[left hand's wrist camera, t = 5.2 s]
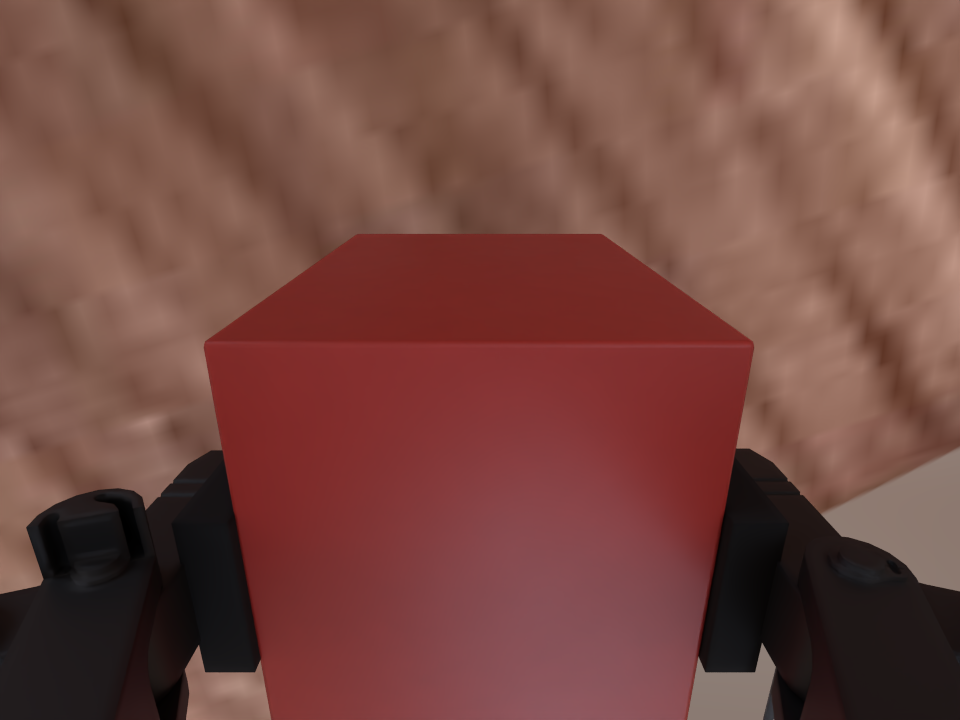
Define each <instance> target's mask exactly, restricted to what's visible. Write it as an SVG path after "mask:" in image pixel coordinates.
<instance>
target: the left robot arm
mask: <svg viewBox="0 0 960 720" xmlns="http://www.w3.org/2000/svg"><path fill="white" fill-rule="evenodd" d="M26 528H27V531H28V534H29V537H30V540H31V543H32V546H33V549H34V552H35V555H36V558H37V561H38V564H39V567H40V570H41V573H42V576H43V579H44V580H43V582H42V584H41V585H40V586H37V587H32V588H28V589H23V590H18V591H13V592H8V593H4V594H0V720H186V714H187V707H188V699H189V688H188V681H187V677H186V673H185V668H186V666H187V664H188V663H189V661H190V659H191V657H192V656H193V654H194V652H195V650H196V648H197V647H198V645H199V647H200V651H201V655H202V660H203V664H204V668H205V672H255V671H256V669H257V666H258V664H259V662H260V659H261V658H260V652H259V647H258V641H257V636H256V630H255V625H254V619H253V614H252V608H251V603H250V597H249V592H248V586H247V581H246V575H245V570H244V564H243V558H242V553H241V547H240V542H239V536H238V531H237V525H236V520H235V514H234V511H233V505H232V500H231V494H230V489H229V483H228V478H227V472H226V467H225V461H224V456H223V450H211V451H210V452H208V453H206V454H205V455H203V456H201V457H200V458H198V459H196V460H195V461H193V462H191V463H190V464H188V465H187V466H186V467H185V468H184V469H183V470H182V472H181V473H180V474H179V475H178V476H177V477H176V478H175V479H174V480H173V484H170V485H169V486H168V487H167V488H166V489H165V490H164V491H163V492H162V493H161V497H158V498H157V499H156V500H155V501H154V502H153V503H152V504H151V505H150V506H149V507H148V509H147V510H146V511H145V507H144V503H143V498H142V497H141V496H140V495H139V494H137V493H136V492H134V491H131V490H125V489H119V488H117V489H105V490H97V491H93V492H89V493H85V494H81V495H77V496H74V497H72V498H69V499H67V500H65V501H62V502H60V503H57V504H55V505H53V506H52V507H50V508H49V509H47V510H45V511H44V512H42V513H41V514H39V515H38V516H37V517H36V518H35V519H34V520H33V521H32V522H31V523H30V524H29V525H28V526H27V527H26ZM762 643H763V645H764V647H765V648H766V650H767V652H768V654H769V655H770V657H771V659H772V661H773V662H774V664H775V666H776V669H775V673H774V677H773V681H772V685H771V689H770V693H769V697H768V701H767V705H766V710H765V714H764V718H763V720H773V719H774V720H960V591H955V590H950V589H945V588H940V587H935V586H931V585H926V584H922V583H919V582H918V580H917V578H916V577H915V576H914V575H913V573H912V572H911V571H910V570H909V568H908V567H907V566H906V565H905V564H904V563H902V562H901V561H899V560H898V559H897V558H895V557H894V556H893V555H891V554H890V553H888V552H886V551H884V550H882V549H880V548H878V547H876V546H873V545H871V544H869V543H866V542H863V541H859V540H855V539H852V538H849V537H841V536H840V535H839V533H838V532H837V531H836V530H835V529H834V528H833V527H832V526H831V525H830V524H829V523H828V522H827V521H826V519H825V518H824V517H823V516H822V515H821V514H820V513H819V512H818V511H817V510H816V509H815V508H814V507H813V505H812V504H811V503H810V502H809V501H808V500H807V499H806V498H805V497H804V496H803V495H800V491H799V490H798V489H797V488H796V487H795V486H794V485H793V484H792V483H791V482H788V480H787V477H786V476H785V475H784V474H783V473H782V472H781V471H780V470H779V469H778V468H777V467H776V466H775V464H774V463H773V462H771V461H769V460H768V459H766V458H764V457H763V456H761V455H759V454H758V453H756V452H754V451H752V450H751V449H736V450H735V456H734V462H733V467H732V473H731V478H730V484H729V489H728V495H727V500H726V506H725V512H724V517H723V523H722V528H721V534H720V539H719V545H718V550H717V556H716V561H715V567H714V573H713V578H712V584H711V589H710V595H709V600H708V606H707V611H706V617H705V622H704V628H703V634H702V639H701V645H700V650H699V658H700V661H701V663H702V665H703V668H704V670H705V672H755V670H756V666H757V662H758V657H759V653H760V648H761V644H762Z"/></svg>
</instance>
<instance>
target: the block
mask: <svg viewBox="0 0 960 720" xmlns="http://www.w3.org/2000/svg"><path fill="white" fill-rule="evenodd" d="M204 351H205V357H206V362H207V368H208V373H209V379H210V384H211V390H212V395H213V401H214V406H215V412H216V417H217V423H218V428H219V434H220V439H221V445H222V450H223V456H224V461H225V467H226V472H227V478H228V483H229V489H230V494H231V500H232V505H233V511H234V514H235V520H236V525H237V531H238V536H239V542H240V547H241V553H242V558H243V564H244V570H245V575H246V581H247V586H248V592H249V597H250V603H251V608H252V614H253V619H254V625H255V630H256V636H257V641H258V647H259V652H260V658H261V665H262V670H263V676H264V681H265V687H266V692H267V698H268V703H269V709H270V714H271V720H687V717H688V711H689V706H690V700H691V695H692V689H693V684H694V678H695V672H696V667H697V661H698V656H699V650H700V645H701V639H702V634H703V628H704V622H705V617H706V611H707V606H708V600H709V595H710V589H711V584H712V578H713V573H714V567H715V561H716V556H717V550H718V545H719V539H720V534H721V528H722V523H723V517H724V512H725V506H726V500H727V495H728V489H729V484H730V478H731V473H732V467H733V462H734V456H735V450H736V445H737V439H738V434H739V428H740V423H741V417H742V412H743V406H744V401H745V395H746V389H747V384H748V378H749V373H750V367H751V362H752V356H753V351H754V344H753V341H751V340H750V339H748V338H747V337H746V336H744V335H743V334H741V333H740V332H739V331H737V330H736V329H734V328H733V327H732V326H730V325H729V324H727V323H726V322H725V321H723V320H722V319H720V318H719V317H718V316H716V315H715V314H713V313H712V312H711V311H709V310H708V309H706V308H705V307H704V306H702V305H701V304H699V303H698V302H697V301H695V300H694V299H692V298H691V297H690V296H688V295H687V294H685V293H684V292H683V291H681V290H680V289H678V288H677V287H675V286H674V285H673V284H671V283H670V282H668V281H667V280H666V279H664V278H663V277H661V276H660V275H659V274H657V273H656V272H654V271H653V270H652V269H650V268H649V267H647V266H646V265H645V264H643V263H642V262H640V261H639V260H638V259H636V258H635V257H633V256H632V255H631V254H629V253H628V252H626V251H625V250H624V249H622V248H621V247H619V246H618V245H617V244H615V243H614V242H612V241H611V240H610V239H608V238H607V237H605V236H604V235H602V234H357V235H355V236H354V237H352V238H351V239H350V240H348V241H347V242H345V243H344V244H342V245H341V246H340V247H338V248H337V249H335V250H334V251H333V252H331V253H330V254H328V255H327V256H325V257H324V258H323V259H321V260H320V261H318V262H317V263H316V264H314V265H313V266H311V267H310V268H309V269H307V270H306V271H304V272H303V273H301V274H300V275H299V276H297V277H296V278H294V279H293V280H292V281H290V282H289V283H287V284H286V285H284V286H283V287H282V288H280V289H279V290H277V291H276V292H275V293H273V294H272V295H270V296H269V297H267V298H266V299H265V300H263V301H262V302H260V303H259V304H258V305H256V306H255V307H253V308H252V309H250V310H249V311H248V312H246V313H245V314H243V315H242V316H241V317H239V318H238V319H236V320H235V321H234V322H232V323H231V324H229V325H228V326H226V327H225V328H224V329H222V330H221V331H219V332H218V333H217V334H215V335H214V336H212V337H211V338H209V339H208V340H207V341H205V344H204Z"/></svg>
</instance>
